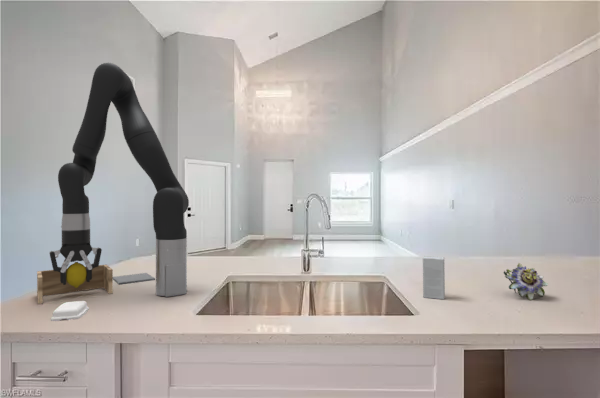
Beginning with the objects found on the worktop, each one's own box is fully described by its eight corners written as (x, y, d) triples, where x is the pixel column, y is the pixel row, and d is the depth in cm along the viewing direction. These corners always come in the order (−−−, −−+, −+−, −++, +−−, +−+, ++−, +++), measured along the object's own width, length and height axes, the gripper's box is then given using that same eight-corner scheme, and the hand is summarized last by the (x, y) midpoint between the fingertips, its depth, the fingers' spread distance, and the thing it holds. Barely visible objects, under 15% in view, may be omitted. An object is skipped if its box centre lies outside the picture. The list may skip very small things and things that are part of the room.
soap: (79, 320, 90) (79, 308, 90) (48, 322, 88) (48, 311, 88) (90, 309, 98) (90, 298, 98) (61, 311, 97) (61, 300, 97)
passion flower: (529, 317, 107) (512, 287, 104) (505, 300, 118) (489, 272, 115) (561, 296, 107) (545, 265, 104) (534, 281, 118) (518, 252, 115)
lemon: (90, 285, 114) (90, 260, 114) (78, 290, 108) (78, 263, 108) (74, 285, 115) (74, 260, 115) (61, 289, 109) (61, 263, 109)
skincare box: (444, 296, 110) (444, 257, 110) (444, 299, 106) (444, 259, 106) (424, 294, 113) (424, 255, 113) (422, 297, 109) (422, 257, 109)
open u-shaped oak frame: (112, 293, 114) (112, 269, 114) (38, 304, 102) (38, 277, 102) (106, 286, 122) (106, 264, 122) (37, 295, 111) (37, 271, 111)
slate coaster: (155, 279, 133) (155, 278, 133) (119, 284, 125) (119, 282, 125) (146, 274, 142) (146, 272, 142) (112, 278, 135) (112, 276, 135)
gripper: (48, 230, 104) (48, 289, 104) (104, 227, 113) (104, 281, 113) (47, 228, 110) (47, 284, 110) (100, 226, 119) (100, 277, 119)
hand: (76, 282), depth 112 cm, fingers closed on lemon, 5 cm apart
